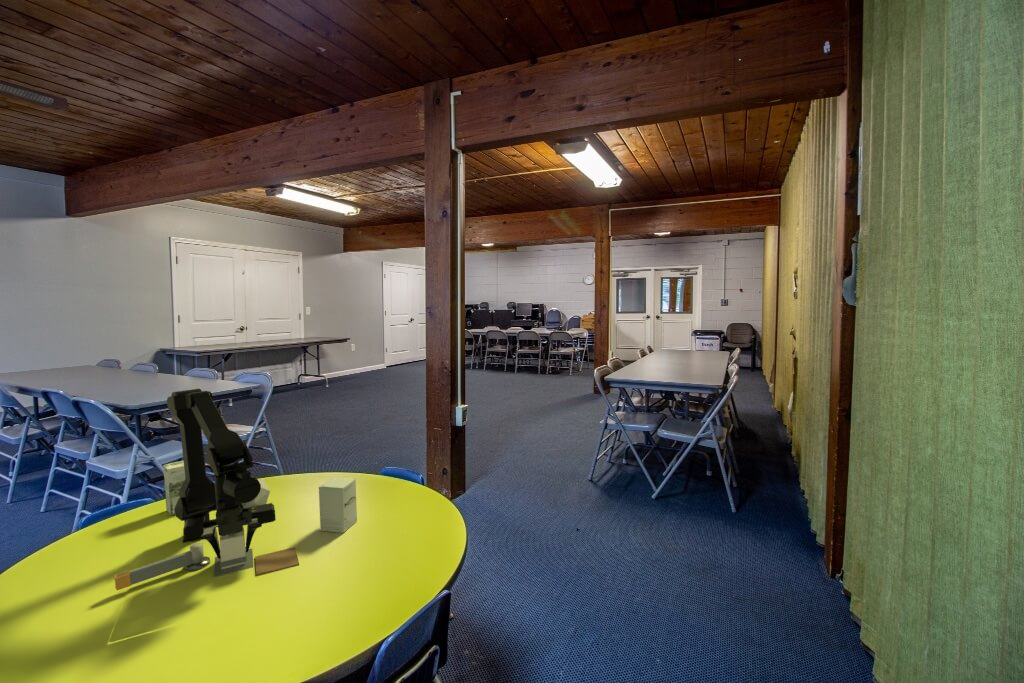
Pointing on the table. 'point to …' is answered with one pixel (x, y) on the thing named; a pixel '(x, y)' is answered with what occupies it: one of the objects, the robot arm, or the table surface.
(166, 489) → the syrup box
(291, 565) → the walnut pad
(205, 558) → the clip base
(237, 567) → the socket plate
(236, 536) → the beige tall block
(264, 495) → the die
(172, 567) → the bar
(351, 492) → the supplement box
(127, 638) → the table surface
